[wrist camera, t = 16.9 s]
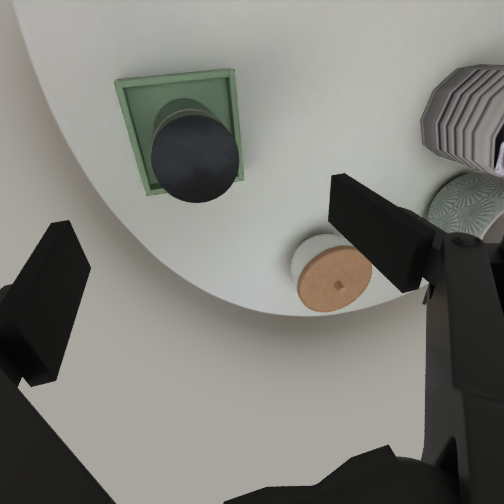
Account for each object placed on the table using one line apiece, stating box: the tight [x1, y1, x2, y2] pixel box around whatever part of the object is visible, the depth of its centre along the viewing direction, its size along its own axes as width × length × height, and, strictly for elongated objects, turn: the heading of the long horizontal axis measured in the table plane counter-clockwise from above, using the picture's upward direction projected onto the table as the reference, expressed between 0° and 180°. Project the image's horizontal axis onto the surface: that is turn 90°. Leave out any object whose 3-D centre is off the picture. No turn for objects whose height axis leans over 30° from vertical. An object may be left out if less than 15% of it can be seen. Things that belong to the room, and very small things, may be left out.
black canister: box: [151, 98, 240, 203], centre depth 29 cm, size 7×7×11 cm
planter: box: [427, 173, 504, 243], centre depth 45 cm, size 12×12×11 cm
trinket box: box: [290, 234, 372, 312], centre depth 44 cm, size 11×11×9 cm
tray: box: [114, 69, 244, 196], centre depth 33 cm, size 11×11×3 cm
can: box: [421, 65, 504, 178], centre depth 36 cm, size 11×11×12 cm
